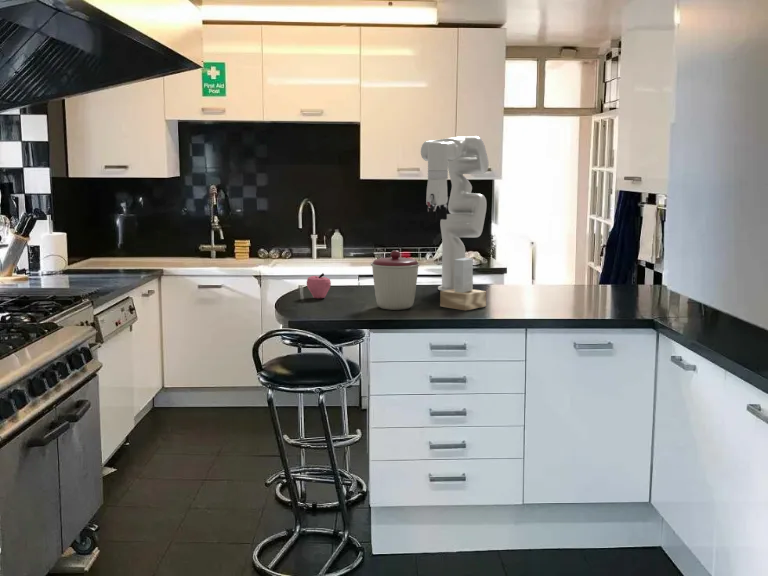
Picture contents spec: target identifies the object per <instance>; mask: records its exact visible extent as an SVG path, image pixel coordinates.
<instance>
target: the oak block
mask: <svg viewBox="0 0 768 576" xmlns="http://www.w3.org/2000/svg"><path fill="white" fill-rule="evenodd" d="M439 291H440V292H439V293H440V295H439V296H440V297H439V299H440V300H439V301H440V302H439V304H440V305H439V306H440V307H443V308H448V309H455V310H460V311H461V310H462V311H470V310H474V309H478V308H479V309H480V308H484V307H487V291H486V290H480V289H473V290H472V291H468V292H464V293H461V292H455V289H450V290H445V291H441V290H439Z"/></svg>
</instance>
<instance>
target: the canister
mask: <svg viewBox="0 0 768 576" xmlns="http://www.w3.org/2000/svg"><path fill="white" fill-rule="evenodd" d="M389 255H390V257H380V258H377V259H374V260H373V261H372V262H370V263H369V265H370V266H371V267H372V268H371V269H372V275H373V276H372V277H373V287H374V294H375V301H376V304H377V307H379V308H381V309H384V310H389V311H400V310H401V311H403V310H407V309H410V308H411V307H413V305H414V302H415V297H416V289H417V281H418V273H419V267H420V266H421V263H420V262H419V261H417V260H416V259H414V258H409V257H401V252H400V251H399V250H392V251H391V252H390V254H389Z"/></svg>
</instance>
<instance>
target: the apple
mask: <svg viewBox="0 0 768 576" xmlns="http://www.w3.org/2000/svg"><path fill="white" fill-rule="evenodd" d="M331 283H332V281H331V279H330V278H328V277H326V276H325V274H324V272H322V273H321V274H320V275H312V276H308V277H307V279H306V286H307V289H308V290H309V292H310V294H311V295H312V297H313V298H314V299H323V298H326V296H327V294H328V292H329V290H330V289H331V285H332V284H331Z"/></svg>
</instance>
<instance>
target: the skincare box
mask: <svg viewBox="0 0 768 576" xmlns="http://www.w3.org/2000/svg"><path fill="white" fill-rule="evenodd" d="M473 261H474V259H473V258H469V257H465V258H461V259H455V260H454V279H455V280H454V281H455V292H461V293H464V292H468V291H472V290H473V288H474V286H473V285H474V284H473V283H474V278H473V277H474V275H473V274H474V271H473V270H474V265H473Z"/></svg>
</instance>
